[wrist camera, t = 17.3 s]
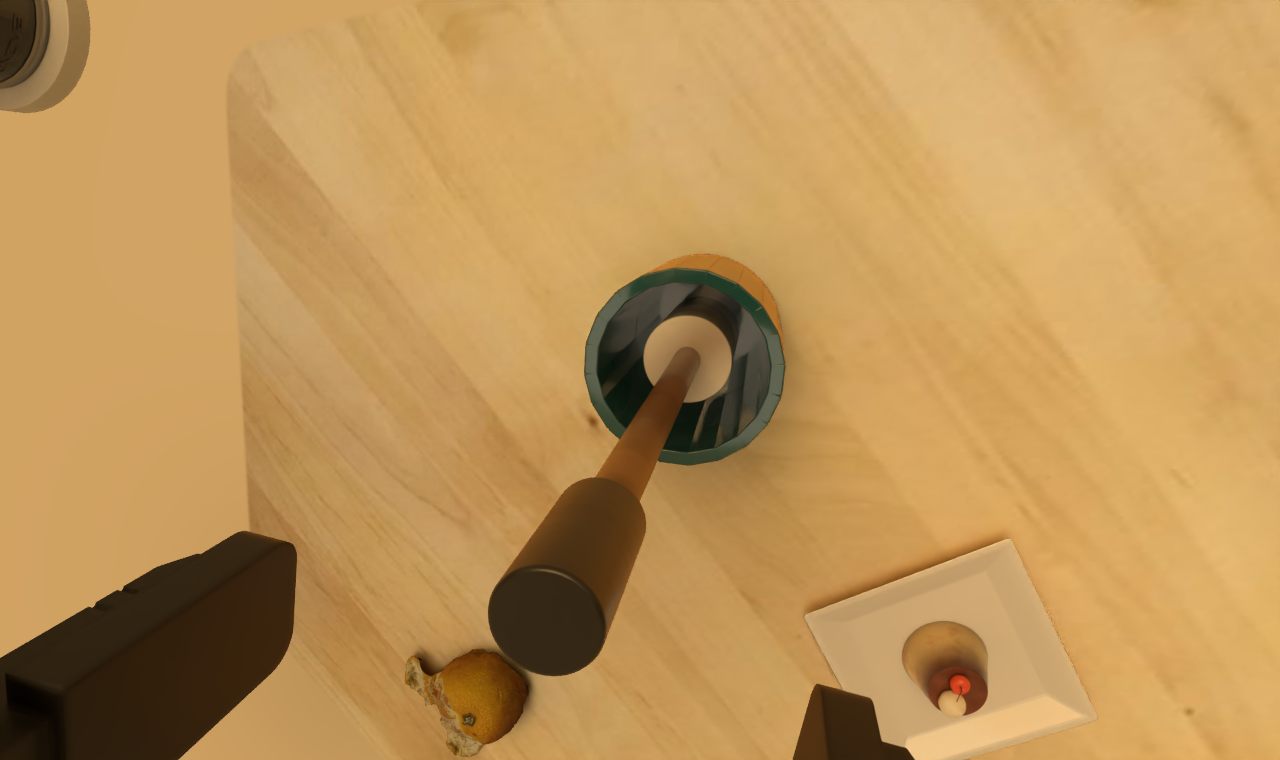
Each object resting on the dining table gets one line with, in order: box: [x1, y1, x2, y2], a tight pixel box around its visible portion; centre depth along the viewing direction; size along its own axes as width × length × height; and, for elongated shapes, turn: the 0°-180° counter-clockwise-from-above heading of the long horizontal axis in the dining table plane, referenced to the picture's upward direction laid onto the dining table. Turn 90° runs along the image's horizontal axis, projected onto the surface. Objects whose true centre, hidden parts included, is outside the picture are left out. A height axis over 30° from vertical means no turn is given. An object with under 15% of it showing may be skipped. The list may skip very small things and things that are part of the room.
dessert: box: [804, 539, 1098, 760], centre depth 38 cm, size 12×12×5 cm
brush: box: [488, 297, 738, 676], centre depth 25 cm, size 4×4×28 cm
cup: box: [584, 254, 786, 465], centre depth 34 cm, size 8×8×10 cm
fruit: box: [405, 650, 529, 757], centre depth 45 cm, size 8×8×4 cm
